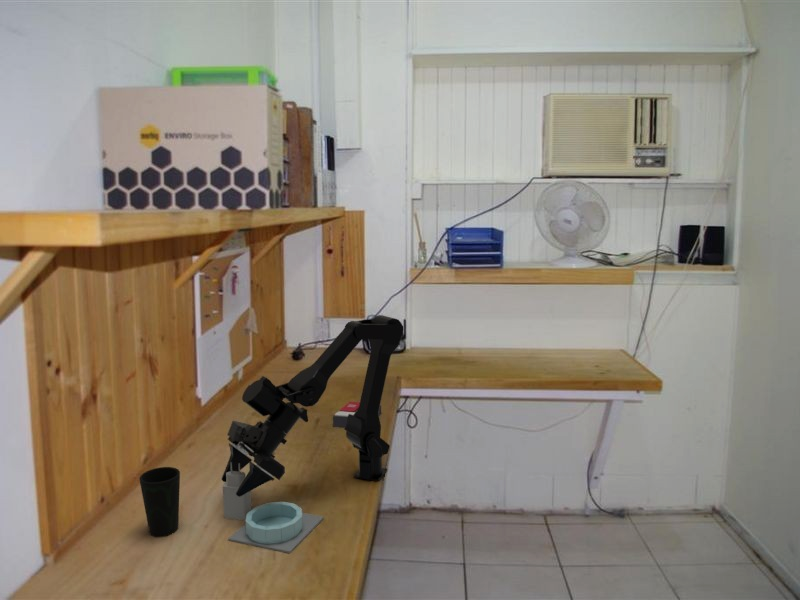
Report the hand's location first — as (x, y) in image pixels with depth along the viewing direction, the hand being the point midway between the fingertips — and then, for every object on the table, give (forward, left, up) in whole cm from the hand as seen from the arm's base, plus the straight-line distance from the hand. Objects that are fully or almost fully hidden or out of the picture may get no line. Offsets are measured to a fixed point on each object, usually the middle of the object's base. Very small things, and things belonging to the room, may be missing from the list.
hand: (230, 488), depth 131 cm
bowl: (+2, +12, -6) cm, 13 cm away
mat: (+1, +12, -7) cm, 14 cm away
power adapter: (-1, +1, -7) cm, 7 cm away
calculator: (-64, +1, -7) cm, 64 cm away
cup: (+9, -10, -7) cm, 15 cm away
